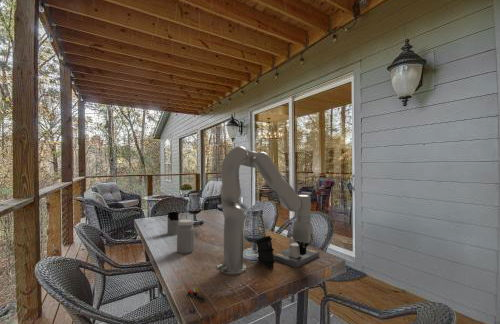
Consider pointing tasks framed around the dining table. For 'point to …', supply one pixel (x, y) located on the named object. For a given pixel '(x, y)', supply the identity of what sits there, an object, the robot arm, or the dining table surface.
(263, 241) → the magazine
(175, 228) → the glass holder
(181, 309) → the dining table surface
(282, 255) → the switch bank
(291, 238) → the beige cylinder
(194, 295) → the composite cable
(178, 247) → the jar
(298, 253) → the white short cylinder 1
